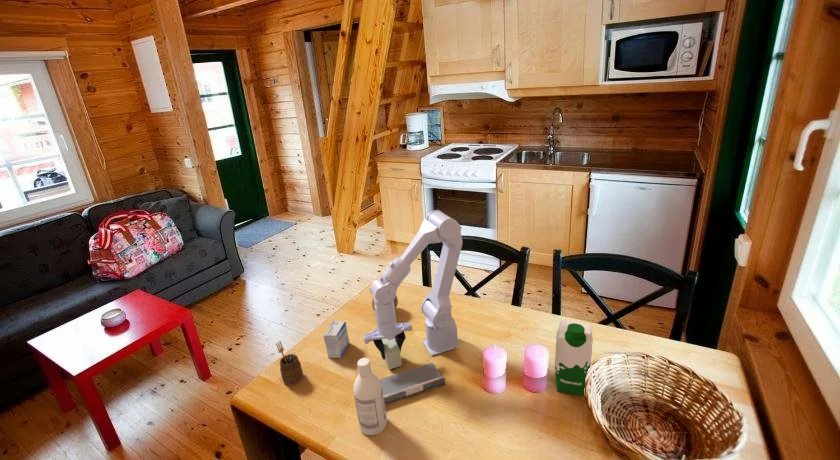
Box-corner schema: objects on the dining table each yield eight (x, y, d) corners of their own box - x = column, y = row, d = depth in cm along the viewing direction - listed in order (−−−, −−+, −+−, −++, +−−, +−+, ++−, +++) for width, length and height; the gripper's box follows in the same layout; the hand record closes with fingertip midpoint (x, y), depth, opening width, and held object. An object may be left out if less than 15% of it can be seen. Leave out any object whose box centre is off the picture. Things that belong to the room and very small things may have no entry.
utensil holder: (292, 388, 117) (284, 354, 112) (278, 381, 120) (269, 348, 115) (307, 375, 121) (300, 342, 117) (293, 368, 124) (285, 336, 120)
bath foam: (373, 409, 107) (364, 348, 100) (392, 422, 103) (384, 359, 95) (354, 427, 102) (342, 364, 95) (373, 441, 98) (362, 376, 90)
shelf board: (432, 364, 121) (432, 357, 120) (445, 384, 113) (444, 377, 112) (368, 385, 115) (367, 378, 115) (376, 408, 107) (375, 401, 106)
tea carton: (394, 351, 127) (392, 335, 125) (401, 365, 121) (399, 349, 119) (382, 355, 126) (379, 339, 124) (388, 369, 120) (386, 353, 118)
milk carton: (553, 393, 107) (557, 331, 100) (554, 370, 115) (558, 311, 108) (588, 400, 105) (595, 336, 97) (587, 375, 112) (593, 315, 105)
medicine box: (340, 358, 127) (336, 336, 124) (327, 357, 128) (323, 335, 125) (349, 342, 134) (346, 321, 131) (337, 342, 135) (333, 320, 132)
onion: (382, 325, 147) (372, 310, 140) (374, 307, 154) (364, 292, 147) (405, 311, 148) (395, 296, 141) (396, 294, 155) (386, 279, 148)
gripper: (364, 332, 112) (371, 370, 117) (414, 318, 116) (417, 356, 122) (359, 318, 118) (365, 356, 123) (406, 306, 123) (410, 342, 128)
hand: (391, 355), depth 123 cm, fingers closed on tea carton, 4 cm apart
